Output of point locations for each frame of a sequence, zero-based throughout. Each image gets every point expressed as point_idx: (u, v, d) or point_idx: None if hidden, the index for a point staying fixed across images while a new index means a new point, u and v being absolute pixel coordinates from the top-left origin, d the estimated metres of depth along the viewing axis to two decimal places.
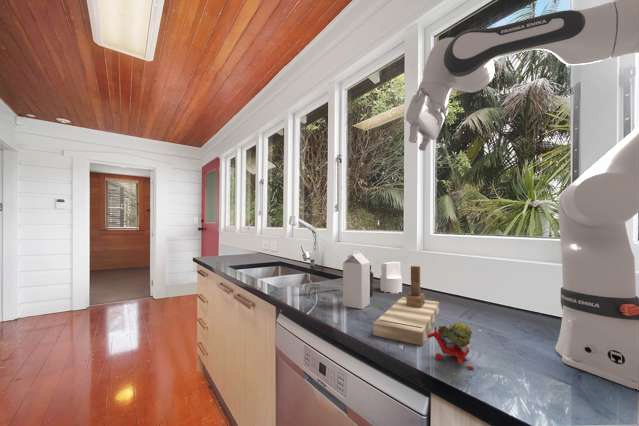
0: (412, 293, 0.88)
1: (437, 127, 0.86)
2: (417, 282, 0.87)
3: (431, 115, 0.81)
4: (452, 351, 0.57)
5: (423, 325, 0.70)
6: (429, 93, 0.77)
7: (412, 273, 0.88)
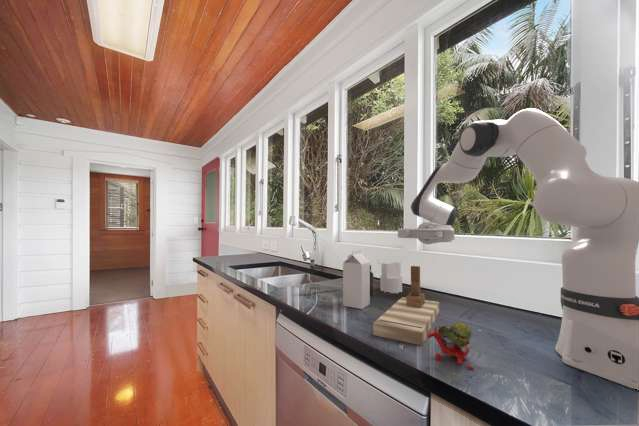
0: (412, 293, 0.88)
1: None
2: (417, 282, 0.87)
3: (425, 229, 1.08)
4: (452, 351, 0.58)
5: (423, 325, 0.70)
6: None
7: (412, 273, 0.88)
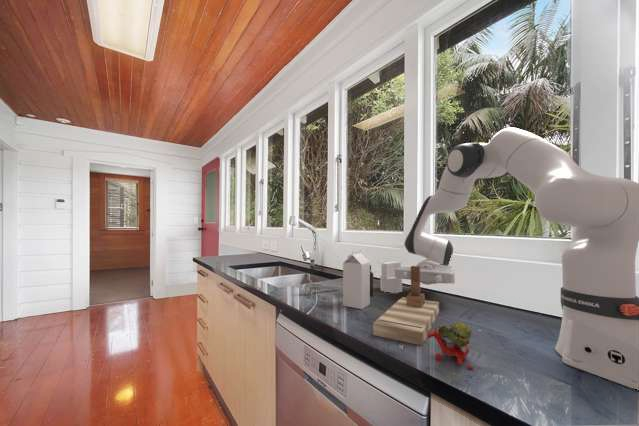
0: (412, 293, 0.88)
1: (445, 271, 0.98)
2: (417, 282, 0.87)
3: (424, 269, 1.02)
4: (452, 351, 0.58)
5: (423, 325, 0.70)
6: None
7: (412, 273, 0.88)
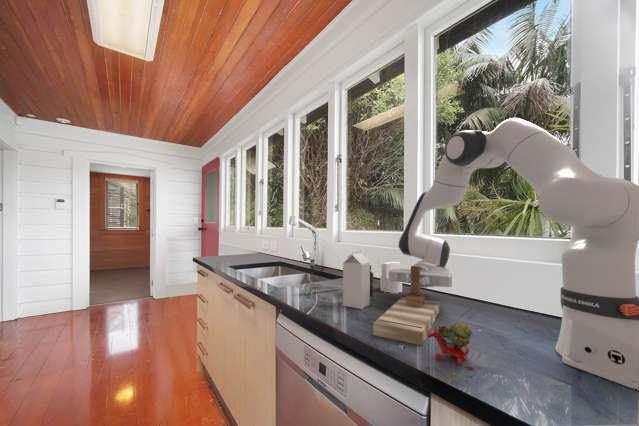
0: (412, 293, 0.88)
1: (442, 273, 0.91)
2: (417, 282, 0.87)
3: (420, 272, 0.96)
4: (452, 351, 0.58)
5: (423, 325, 0.70)
6: None
7: (412, 273, 0.88)
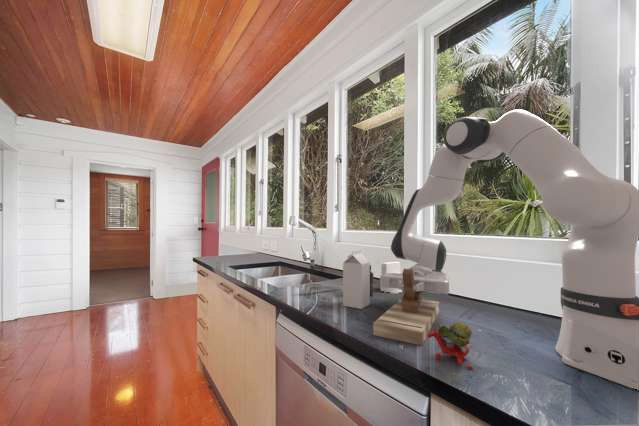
0: (407, 297, 0.81)
1: (438, 279, 0.83)
2: (411, 288, 0.79)
3: (414, 277, 0.87)
4: (452, 351, 0.58)
5: (423, 325, 0.70)
6: None
7: (405, 279, 0.79)
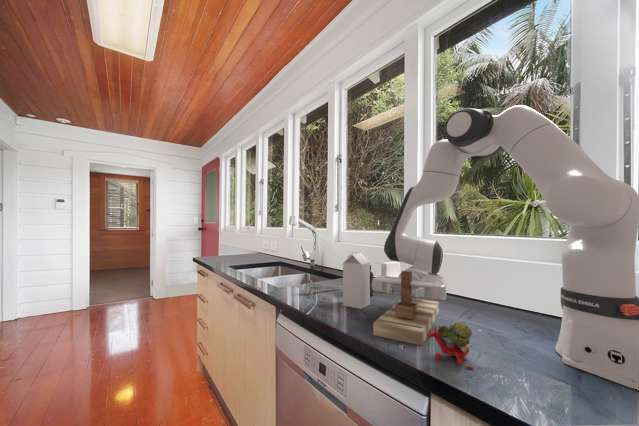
0: (402, 302, 0.77)
1: (435, 283, 0.76)
2: (408, 289, 0.76)
3: None
4: (452, 351, 0.58)
5: (423, 325, 0.70)
6: None
7: (403, 279, 0.77)
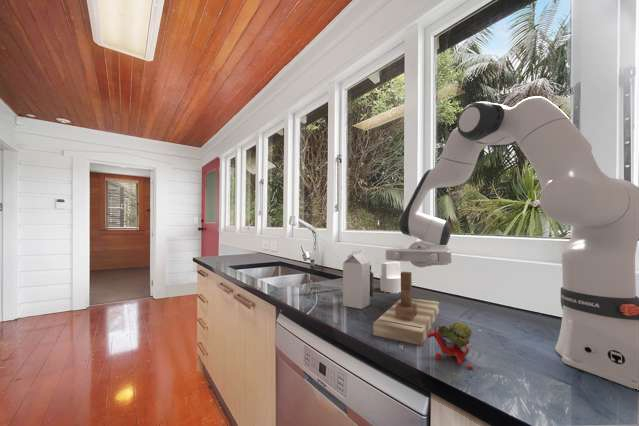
0: (402, 303, 0.77)
1: (441, 250, 0.88)
2: (408, 290, 0.76)
3: (418, 250, 0.92)
4: (452, 351, 0.58)
5: (423, 325, 0.70)
6: None
7: (402, 280, 0.77)
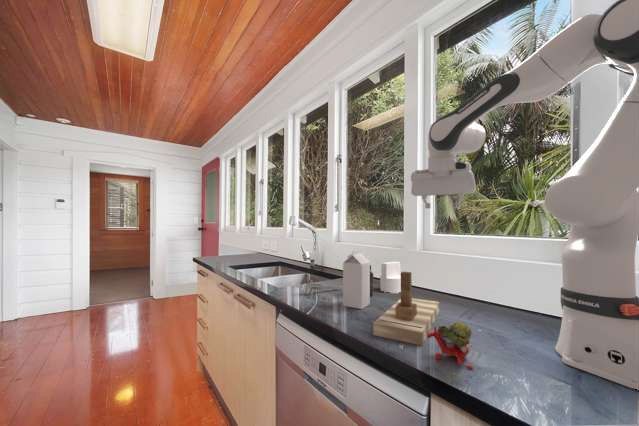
0: (402, 303, 0.77)
1: (465, 182, 0.90)
2: (408, 290, 0.76)
3: (441, 180, 0.94)
4: (452, 351, 0.58)
5: (423, 325, 0.70)
6: (428, 168, 0.97)
7: (402, 280, 0.77)
